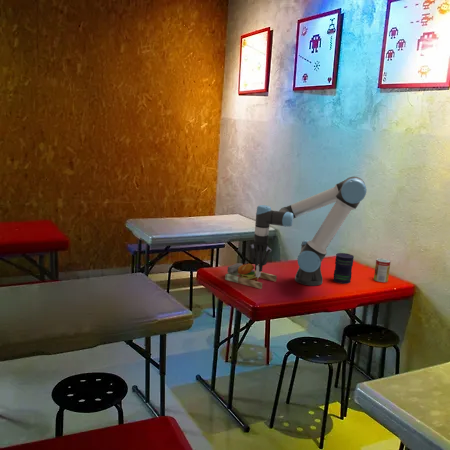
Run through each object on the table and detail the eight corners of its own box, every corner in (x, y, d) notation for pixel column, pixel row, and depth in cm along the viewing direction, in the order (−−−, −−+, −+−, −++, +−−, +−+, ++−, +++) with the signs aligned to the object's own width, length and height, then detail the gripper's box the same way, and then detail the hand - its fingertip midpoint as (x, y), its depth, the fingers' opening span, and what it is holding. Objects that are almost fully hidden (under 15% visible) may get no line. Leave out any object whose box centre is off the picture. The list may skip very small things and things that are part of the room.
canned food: (386, 278, 291) (388, 258, 288) (389, 282, 283) (392, 262, 281) (372, 277, 291) (375, 257, 289) (375, 281, 284) (377, 261, 281)
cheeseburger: (260, 282, 268) (257, 265, 265) (241, 286, 267) (238, 269, 264) (257, 276, 277) (254, 259, 275) (238, 280, 277) (235, 263, 274)
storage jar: (346, 284, 274) (349, 258, 271) (330, 280, 280) (333, 255, 277) (353, 281, 282) (356, 255, 279) (337, 276, 288) (340, 252, 285)
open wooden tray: (276, 280, 273) (277, 270, 272) (260, 288, 258) (261, 277, 257) (240, 271, 285) (241, 261, 284) (223, 279, 270) (224, 268, 269)
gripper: (275, 235, 263) (271, 277, 268) (254, 231, 270) (250, 272, 275) (269, 237, 257) (265, 281, 262) (247, 233, 264) (244, 275, 269)
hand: (257, 276), depth 268 cm, fingers closed
